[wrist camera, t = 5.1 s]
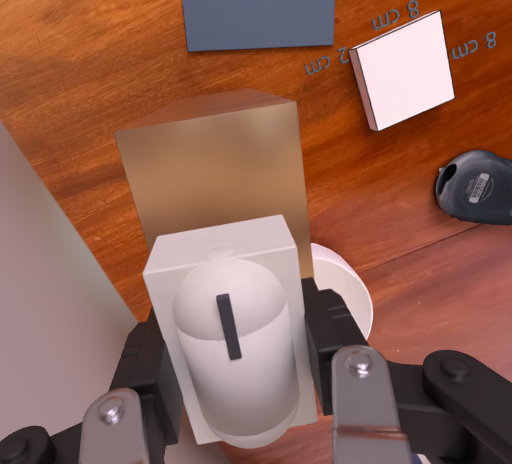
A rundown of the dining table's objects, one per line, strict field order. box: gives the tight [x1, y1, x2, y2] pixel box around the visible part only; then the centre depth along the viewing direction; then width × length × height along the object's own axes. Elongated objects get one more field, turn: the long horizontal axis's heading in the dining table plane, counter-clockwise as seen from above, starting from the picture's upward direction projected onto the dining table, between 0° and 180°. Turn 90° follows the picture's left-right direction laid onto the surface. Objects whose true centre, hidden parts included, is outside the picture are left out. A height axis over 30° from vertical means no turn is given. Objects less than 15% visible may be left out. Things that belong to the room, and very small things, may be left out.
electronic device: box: [436, 150, 512, 226], centre depth 47 cm, size 9×6×15 cm
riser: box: [113, 87, 315, 281], centre depth 31 cm, size 12×8×28 cm, turn 9°
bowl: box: [311, 243, 373, 383], centre depth 48 cm, size 20×20×8 cm
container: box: [304, 0, 496, 132], centre depth 41 cm, size 20×11×3 cm, turn 113°
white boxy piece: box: [143, 215, 318, 449], centre depth 11 cm, size 7×4×4 cm, turn 9°
